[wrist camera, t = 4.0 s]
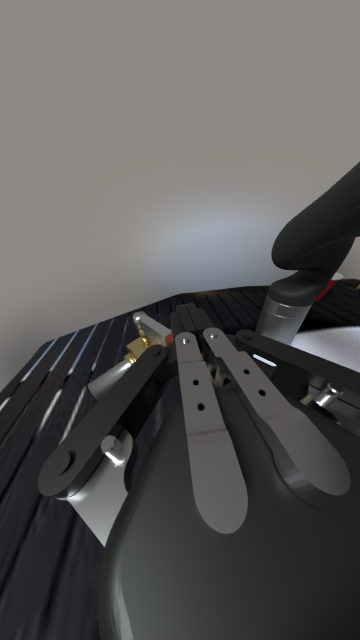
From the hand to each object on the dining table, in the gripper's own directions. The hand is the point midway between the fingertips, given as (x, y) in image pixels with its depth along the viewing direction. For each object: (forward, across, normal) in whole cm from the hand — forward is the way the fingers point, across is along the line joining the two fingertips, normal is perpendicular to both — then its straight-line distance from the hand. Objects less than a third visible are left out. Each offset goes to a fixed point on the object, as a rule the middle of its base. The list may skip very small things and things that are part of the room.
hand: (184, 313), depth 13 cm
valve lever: (+10, +2, +14) cm, 17 cm away
